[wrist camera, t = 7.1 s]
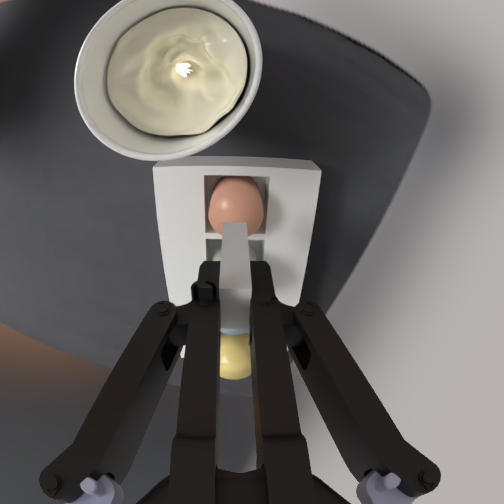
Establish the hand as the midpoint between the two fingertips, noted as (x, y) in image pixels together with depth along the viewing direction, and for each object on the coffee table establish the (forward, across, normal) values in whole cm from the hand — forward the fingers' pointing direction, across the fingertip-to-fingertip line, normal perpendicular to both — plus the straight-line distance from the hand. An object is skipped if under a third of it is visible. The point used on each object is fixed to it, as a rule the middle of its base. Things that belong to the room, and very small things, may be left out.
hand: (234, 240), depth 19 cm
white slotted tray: (+10, 0, -9) cm, 13 cm away
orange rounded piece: (+9, 0, 0) cm, 9 cm away
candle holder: (+10, -4, +11) cm, 15 cm away
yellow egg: (+6, 0, -18) cm, 19 cm away
